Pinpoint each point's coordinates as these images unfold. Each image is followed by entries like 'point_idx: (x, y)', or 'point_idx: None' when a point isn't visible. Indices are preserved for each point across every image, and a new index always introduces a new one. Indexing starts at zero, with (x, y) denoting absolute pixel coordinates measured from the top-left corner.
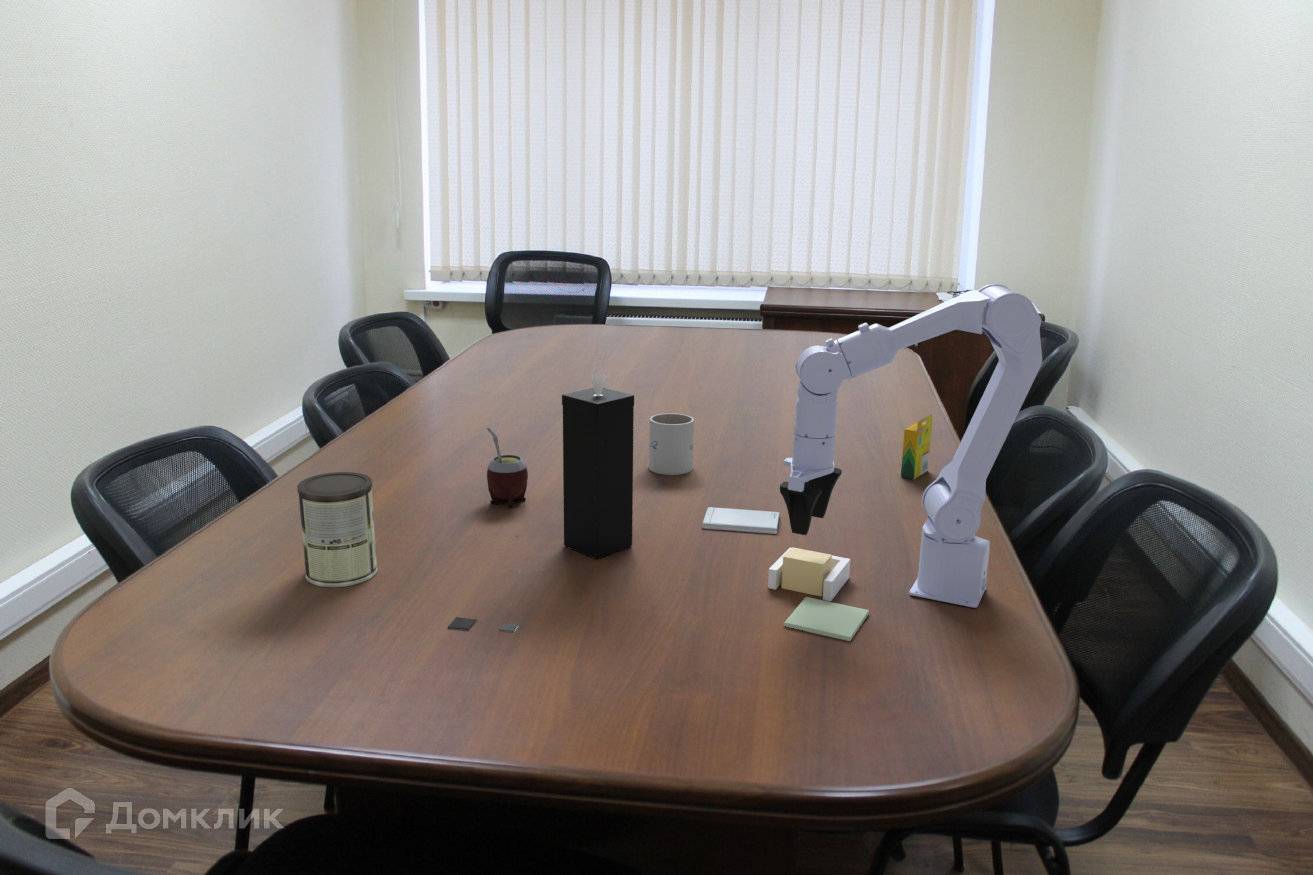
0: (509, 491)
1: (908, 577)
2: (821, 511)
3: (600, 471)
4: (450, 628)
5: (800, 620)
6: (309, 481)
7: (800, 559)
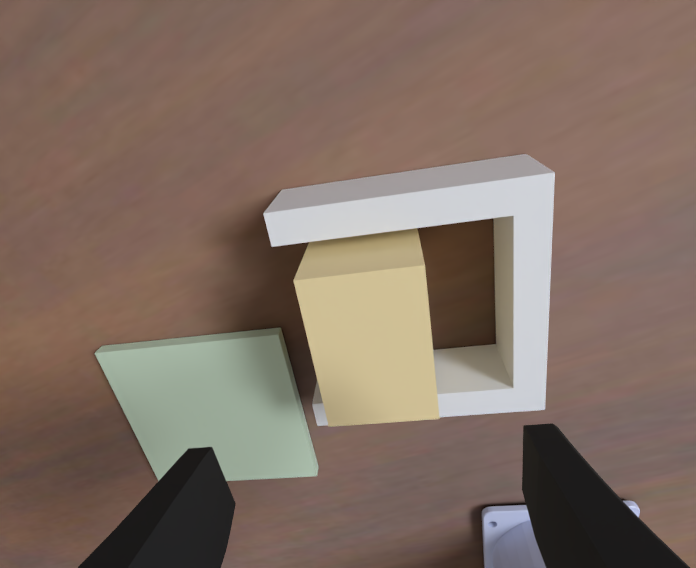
0: None
1: (609, 476)
2: (537, 523)
3: None
4: None
5: (138, 378)
6: None
7: (315, 348)
